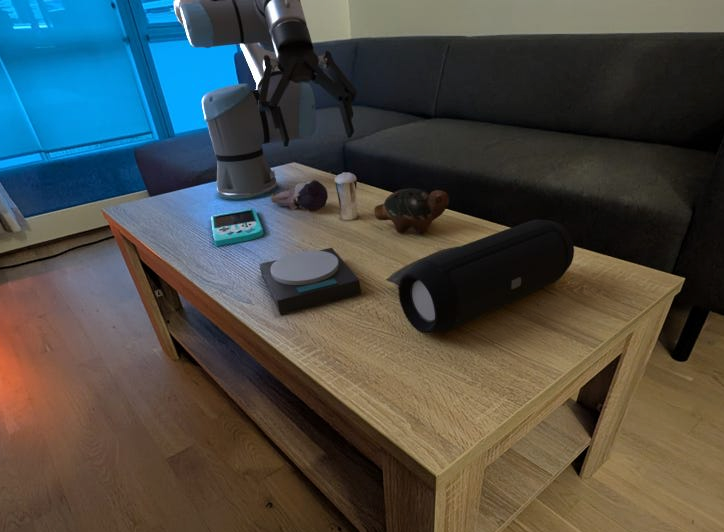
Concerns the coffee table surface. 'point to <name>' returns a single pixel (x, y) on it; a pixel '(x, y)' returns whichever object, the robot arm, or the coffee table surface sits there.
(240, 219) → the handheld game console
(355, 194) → the milkshake
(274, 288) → the scale
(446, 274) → the portable speaker
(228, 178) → the robot arm
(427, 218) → the decorative turtle
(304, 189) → the figurine
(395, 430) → the coffee table surface
